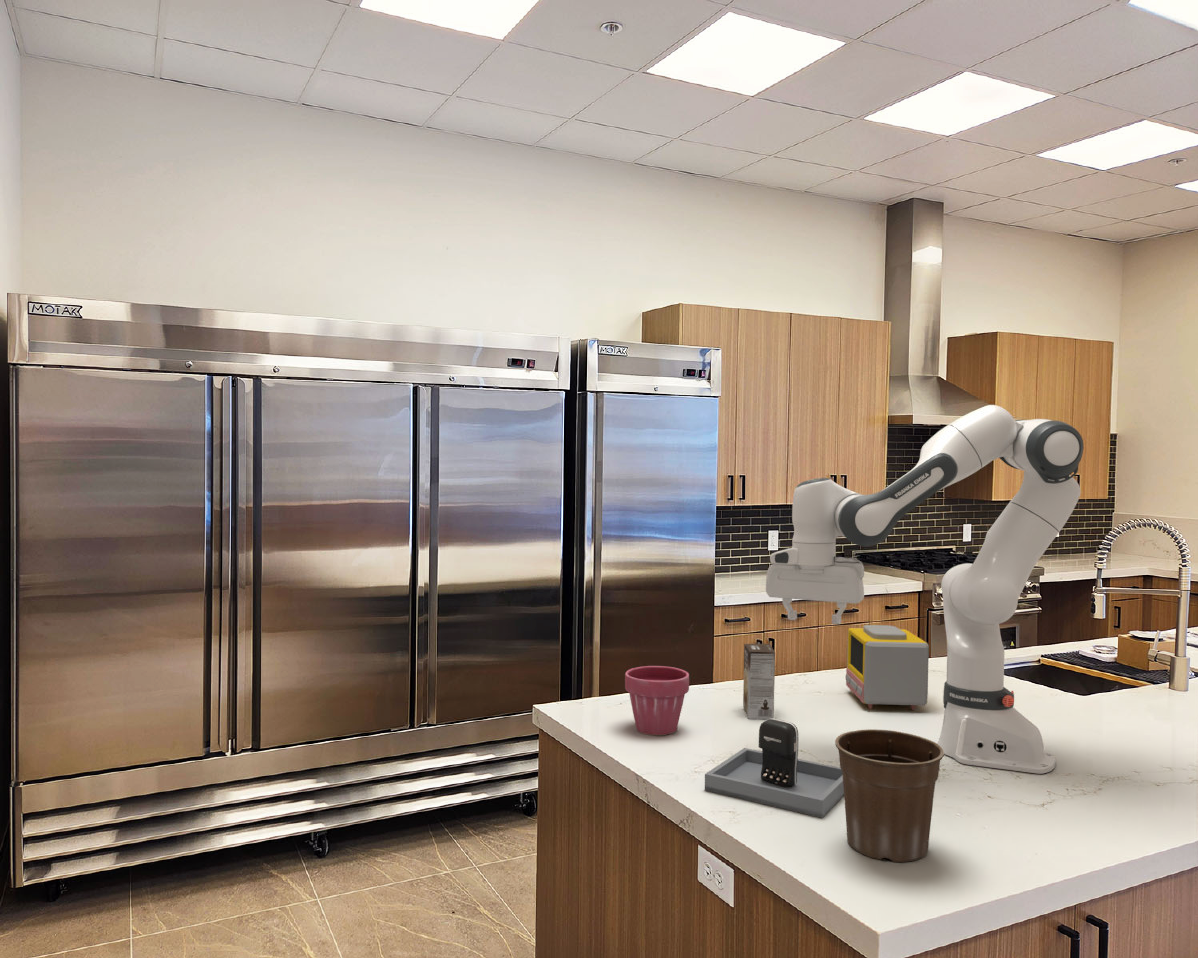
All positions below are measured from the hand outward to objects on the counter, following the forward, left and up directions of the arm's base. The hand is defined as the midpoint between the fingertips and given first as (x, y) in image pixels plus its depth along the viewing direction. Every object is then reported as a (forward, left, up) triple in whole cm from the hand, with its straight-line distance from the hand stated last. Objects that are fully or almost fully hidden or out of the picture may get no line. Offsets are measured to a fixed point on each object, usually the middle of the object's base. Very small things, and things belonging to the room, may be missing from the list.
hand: (814, 621), depth 186 cm
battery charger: (-2, +25, -26) cm, 37 cm away
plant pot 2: (-26, +39, -27) cm, 54 cm away
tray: (-3, +25, -27) cm, 37 cm away
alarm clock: (-3, -47, -27) cm, 54 cm away
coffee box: (+19, -18, -27) cm, 38 cm away
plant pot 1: (+33, +7, -27) cm, 44 cm away
